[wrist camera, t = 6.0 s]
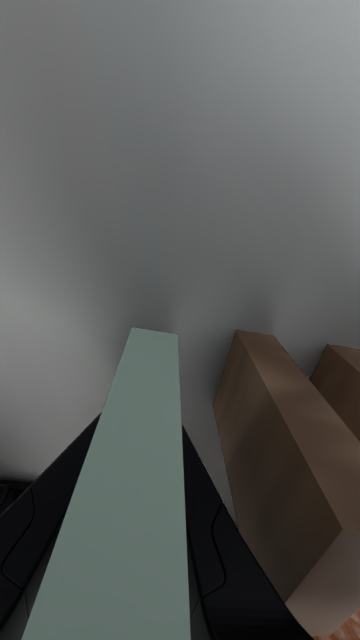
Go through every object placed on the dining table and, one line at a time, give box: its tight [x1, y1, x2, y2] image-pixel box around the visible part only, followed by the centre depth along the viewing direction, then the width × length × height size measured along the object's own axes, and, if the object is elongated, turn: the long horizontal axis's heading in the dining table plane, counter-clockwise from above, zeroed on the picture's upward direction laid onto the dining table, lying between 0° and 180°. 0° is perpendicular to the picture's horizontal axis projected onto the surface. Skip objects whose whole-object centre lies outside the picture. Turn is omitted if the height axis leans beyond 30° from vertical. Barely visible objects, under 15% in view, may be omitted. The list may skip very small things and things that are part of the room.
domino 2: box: [213, 330, 360, 636], centre depth 10 cm, size 2×5×8 cm, turn 170°
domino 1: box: [21, 327, 191, 640], centre depth 8 cm, size 2×5×8 cm, turn 169°
